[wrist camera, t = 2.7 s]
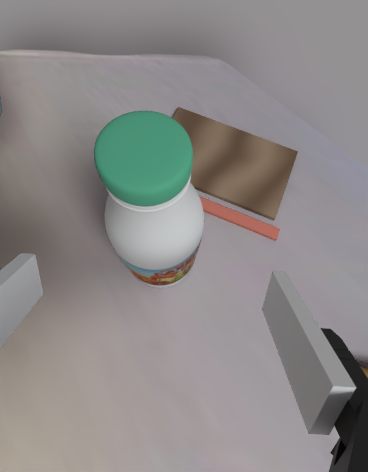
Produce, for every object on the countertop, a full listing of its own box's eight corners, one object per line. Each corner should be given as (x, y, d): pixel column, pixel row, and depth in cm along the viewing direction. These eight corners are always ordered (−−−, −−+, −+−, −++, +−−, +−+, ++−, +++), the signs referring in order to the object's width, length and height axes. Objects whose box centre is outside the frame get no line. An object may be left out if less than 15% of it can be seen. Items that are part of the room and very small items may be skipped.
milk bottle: (115, 267, 30) (16, 171, 11) (151, 215, 32) (119, 60, 13) (173, 301, 29) (174, 261, 10) (205, 244, 31) (255, 123, 12)
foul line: (130, 181, 33) (129, 179, 33) (135, 172, 34) (134, 170, 34) (275, 240, 32) (276, 239, 31) (278, 230, 32) (279, 228, 32)
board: (145, 168, 34) (145, 166, 34) (178, 110, 38) (178, 107, 37) (273, 220, 32) (275, 218, 32) (295, 154, 36) (297, 151, 35)
